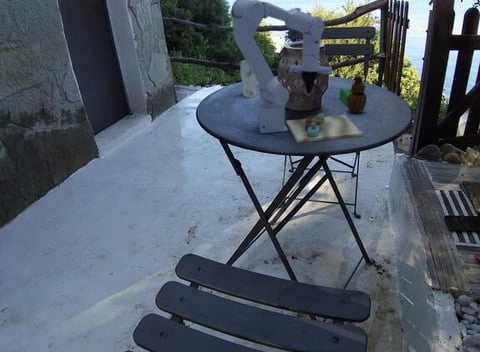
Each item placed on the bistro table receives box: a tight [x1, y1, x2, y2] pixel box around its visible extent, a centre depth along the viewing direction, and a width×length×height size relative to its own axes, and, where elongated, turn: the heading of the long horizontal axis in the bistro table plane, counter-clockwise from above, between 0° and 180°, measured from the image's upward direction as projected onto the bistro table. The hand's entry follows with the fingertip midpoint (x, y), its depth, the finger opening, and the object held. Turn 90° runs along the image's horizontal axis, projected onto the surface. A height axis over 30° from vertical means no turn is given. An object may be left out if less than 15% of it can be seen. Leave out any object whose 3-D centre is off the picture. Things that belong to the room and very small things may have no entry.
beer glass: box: [240, 59, 257, 98], centre depth 162 cm, size 7×7×15 cm
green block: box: [339, 87, 353, 108], centre depth 150 cm, size 11×4×5 cm, turn 3°
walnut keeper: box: [305, 115, 325, 131], centre depth 126 cm, size 4×5×4 cm
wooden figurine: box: [346, 73, 367, 114], centre depth 137 cm, size 7×6×15 cm
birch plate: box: [285, 114, 363, 143], centre depth 129 cm, size 22×17×1 cm
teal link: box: [308, 112, 326, 136], centre depth 127 cm, size 16×4×4 cm, turn 158°
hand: (309, 92), depth 133 cm, fingers closed
